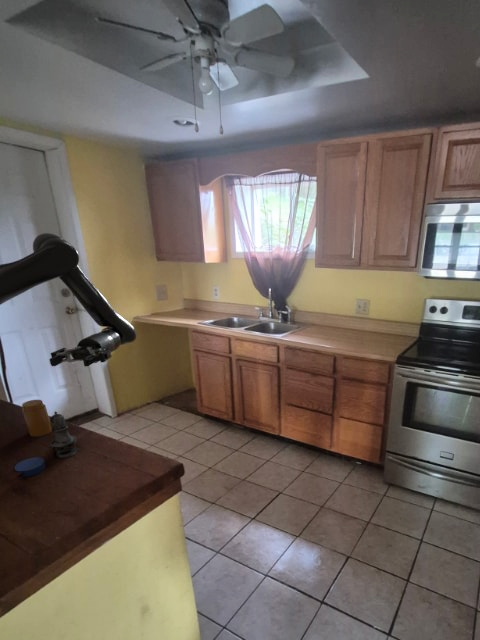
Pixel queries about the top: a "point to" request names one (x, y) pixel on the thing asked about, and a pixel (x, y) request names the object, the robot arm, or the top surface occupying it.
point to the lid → (30, 466)
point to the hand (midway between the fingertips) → (68, 362)
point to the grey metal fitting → (62, 437)
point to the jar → (36, 418)
